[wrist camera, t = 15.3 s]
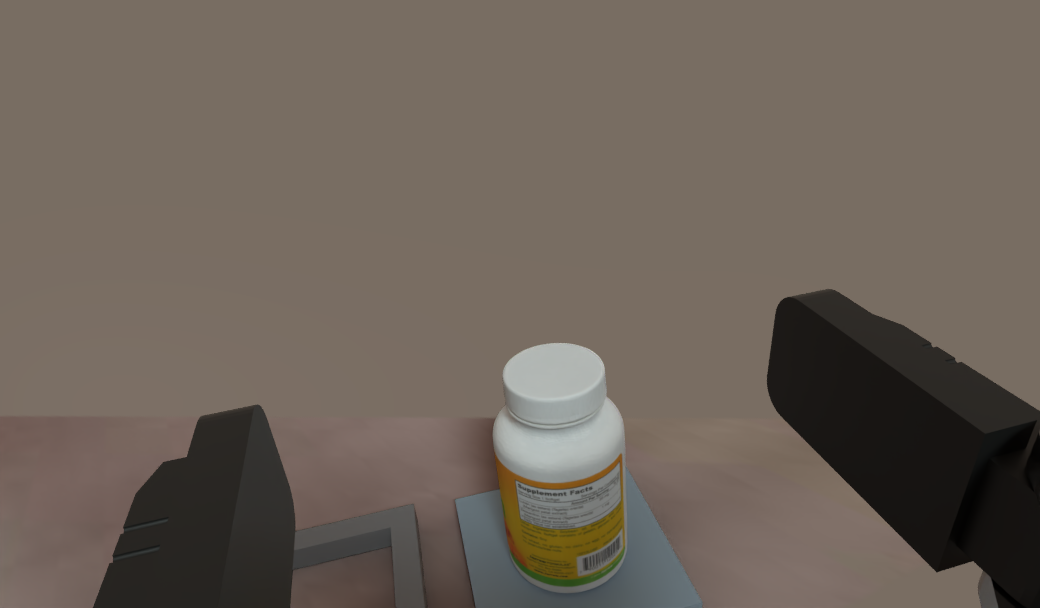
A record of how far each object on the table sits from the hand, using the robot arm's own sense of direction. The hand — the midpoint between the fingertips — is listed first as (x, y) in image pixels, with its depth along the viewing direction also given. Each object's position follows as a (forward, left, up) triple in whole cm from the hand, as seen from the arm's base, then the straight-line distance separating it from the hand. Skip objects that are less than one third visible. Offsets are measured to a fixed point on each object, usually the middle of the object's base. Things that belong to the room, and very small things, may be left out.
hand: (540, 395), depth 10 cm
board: (+3, +13, -18) cm, 22 cm away
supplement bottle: (+3, +12, -18) cm, 22 cm away
